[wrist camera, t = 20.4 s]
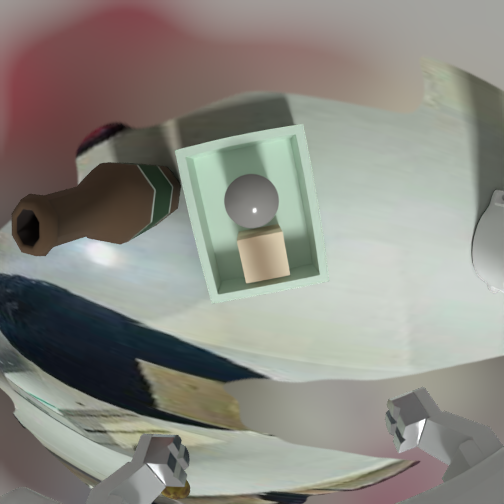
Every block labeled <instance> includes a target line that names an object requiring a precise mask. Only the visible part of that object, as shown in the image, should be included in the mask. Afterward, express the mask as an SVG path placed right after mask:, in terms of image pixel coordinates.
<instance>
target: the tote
mask: <svg viewBox="0 0 504 504" xmlns="http://www.w3.org/2000/svg"><path fill="white" fill-rule="evenodd" d="M175 153H176V158H177V163H178V168H179V172H180V177H181V182H182V186H183V191H184V195H185V200H186V204H187V208H188V213H189V217H190V221H191V225H192V229H193V233H194V237H195V242H196V246H197V250H198V253H199V257H200V261H201V265H202V269H203V273H204V277H205V280H206V284H207V288H208V291H209V295H210V299H211V302H212V304H213V303H219V302H225V301H230V300H236V299H242V298H247V297H253V296H258V295H263V294H269V293H274V292H279V291H284V290H289V289H294V288H299V287H304V286H309V285H314V284H318V283H323V282H328V281H329V276H328V268H327V260H326V252H325V245H324V238H323V231H322V224H321V218H320V211H319V205H318V199H317V193H316V188H315V182H314V177H313V171H312V166H311V161H310V156H309V151H308V146H307V141H306V136H305V131H304V127H303V124H300V125H293V126H286V127H280V128H274V129H268V130H263V131H257V132H252V133H247V134H242V135H237V136H232V137H227V138H223V139H219V140H214V141H210V142H206V143H202V144H198V145H194V146H190V147H186V148H182V149H178V150H175ZM246 174H257V175H261V176H263V177H265V178H267V179H268V180H269V181H271V182H272V184H273V185H274V186H275V188H276V190H277V192H278V196H279V206H278V210H277V212H276V214H275V216H274V217H273V218H272V220H271V221H269V222H268V223H267V224H265V225H263V226H261V227H265V226H270V225H275V224H279V226H280V228H281V230H282V231H283V237H284V242H285V248H286V253H287V259H288V265H289V271H290V275H288V276H283V277H278V278H273V279H268V280H262V281H257V282H252V283H246V280H245V276H244V271H243V267H242V262H241V258H240V253H239V249H238V244H237V237H238V233H239V232H240V231H245V230H250V229H255V228H246V227H242V226H240V225H238V224H236V223H235V222H234V221H233V220H232V219H231V218H230V217H229V216H228V214H227V212H226V209H225V205H224V197H225V193H226V190H227V188H228V186H229V185H230V184H231V183H232V182H233V181H234V180H235V179H236V178H238V177H240V176H242V175H246ZM257 228H260V227H257Z"/></svg>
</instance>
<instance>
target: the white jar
mask: <svg viewBox="0 0 504 504" xmlns="http://www.w3.org/2000/svg"><path fill="white" fill-rule="evenodd" d="M224 205H225V209H226V212H227V214H228V216H229V217H230V218H231V219H232V220H233V221H234V222H235V223H236V224H238V225H240V226H242V227H246V228H257V227H261V226H263V225H265V224H267V223H268V222H269V221H271V220H272V218H273V217H274V216H275V214H276V212H277V210H278V206H279V196H278V192H277V190H276V188H275V186H274V185H273V184H272V182H271V181H269V180H268V179H267V178H265V177H263V176H261V175H257V174H246V175H242V176H240V177H238V178H236V179H235V180H234V181H233V182H232V183H231V184H230V185H229V186H228V188H227V190H226V193H225V197H224Z"/></svg>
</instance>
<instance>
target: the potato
mask: <svg viewBox="0 0 504 504" xmlns="http://www.w3.org/2000/svg"><path fill="white" fill-rule="evenodd" d="M161 493H162V494H163V495H164V496H166V497H168V498H171V499H176V500H177V499H182V498H186V497H187V496H188V495H189V493H190V485H189V483H188V481H187V480H186V483H185V487H172V486H165V489H164V490H163V491H162V492H161Z"/></svg>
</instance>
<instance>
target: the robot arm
mask: <svg viewBox="0 0 504 504" xmlns="http://www.w3.org/2000/svg"><path fill="white" fill-rule="evenodd" d="M472 257H473V265H474V269H475V271H476V274H477V275H478V277H479V278H480V279H481V280H483V281H484V282H486V283H487V285H488V288H489V290H490V292H492V293H497V292H498V291H502V292H504V191H502V190H495V191H494V193H493V195H492V198H491V202H490V205H489V207H488V208H487V210H486V211H485V212H484V214H483V215H482V217H481V219H480V221H479V223H478V226H477V229H476V232H475V236H474V241H473V250H472ZM387 407H388V409H389V410H388V411H387V413H386V418H385V420H386V426H387V429H388V431H389V433H390V434H391V435H393V436H394V440H393V442H394V445H395V447H396V449H397V451H398V453H400V452H403V451H406V450H409V449H412V448H414V447H417V446H418V447H419V448H420V449H422V450H424V451H425V452H427V453H429V454H430V455H432V456H434V457H435V458H437V459H439V460H440V461H442V462H444V463H446V464H447V465H449V467H448V468H447V470H446V472H445V474H444V475H443V477H442V479H443V481H444V483H442V484H440V485H438V486H436V487H434V488H432V489H430V490H427V491H425V492H423V493H420V494H418V495H416V496H414V497H411V498H409V499H406V500H404V501H401V502H398V503H396V504H504V446H503V445H502V443H501V442H500V441H499V439H498V438H497V436H496V435H495V433H494V432H493V431H492V429H491V428H490V427H489V426H486V425H483V424H480V423H477V422H474V421H472V420H469V419H466V418H463V417H460V416H458V415H455V414H452V413H450V412H447V411H443V412H442V411H441V410H440V409H439V407H438V406H437V404H436V403H435V401H434V400H433V399H432V397H431V396H430V394H429V393H428V391H427V390H426V389H425V388H424V387H421V388H418V389H416V390H413V391H410V392H407V393H405V394H402V395H399V396H397V397H394V398H391V399H389V400H388V402H387ZM181 441H182V440H181V438H180V437H179V435H162V434H143V435H142V436H141V437H140V440H139V442H138V445H137V448H136V450H135V453H134V456H133V459H132V461H131V462H127V463H126V464H125V465H124V466H122V467H121V468H120V469H118V470H117V471H116V472H114V473H113V474H112V475H110V476H109V477H108V478H106V479H105V480H103V481H102V482H101V483H99V484H98V485H96V486H95V487H94V488H92V489H91V492H90V494H89V497H88V499H87V501H86V504H151V503H152V502H153V500H154V499H155V498H156V497H157V496H158V495H159V494H160V493H161V492H162V491H163V490H164V489H165V486H172V487H185V483H186V478H187V474H186V472H185V471H184V470H185V469H186V468H187V467H188V466H189V461H190V459H189V452H188V450H187V448H186V446H184V445H182V444H181ZM0 504H63V503H61V502H58V501H55V500H53V499H51V498H48V497H46V496H43V495H41V494H39V493H36V492H35V491H32V490H30V489H28V488H25V487H20V488H17V489H15V490H12V491H10V492H8V493H6V494H4V495H2V496H0Z"/></svg>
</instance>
